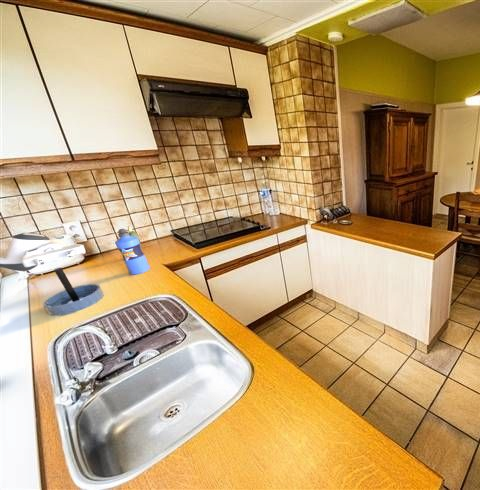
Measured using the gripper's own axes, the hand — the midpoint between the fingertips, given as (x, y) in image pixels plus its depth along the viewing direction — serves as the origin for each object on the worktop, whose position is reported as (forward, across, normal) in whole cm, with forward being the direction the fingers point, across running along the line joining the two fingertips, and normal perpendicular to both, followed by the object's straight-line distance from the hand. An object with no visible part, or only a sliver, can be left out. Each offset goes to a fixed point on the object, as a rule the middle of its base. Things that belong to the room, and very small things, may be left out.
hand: (55, 259), depth 122 cm
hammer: (+17, 0, -18) cm, 25 cm away
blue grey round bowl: (+17, 0, -19) cm, 26 cm away
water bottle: (-2, -26, -19) cm, 32 cm away
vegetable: (-29, -32, -19) cm, 47 cm away
